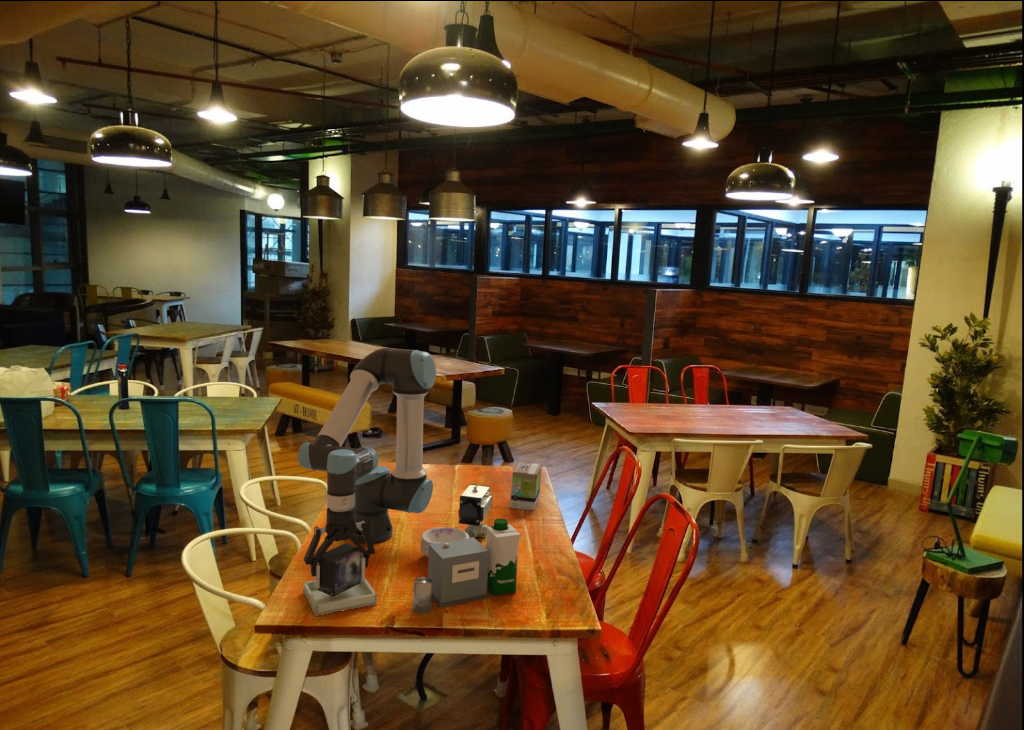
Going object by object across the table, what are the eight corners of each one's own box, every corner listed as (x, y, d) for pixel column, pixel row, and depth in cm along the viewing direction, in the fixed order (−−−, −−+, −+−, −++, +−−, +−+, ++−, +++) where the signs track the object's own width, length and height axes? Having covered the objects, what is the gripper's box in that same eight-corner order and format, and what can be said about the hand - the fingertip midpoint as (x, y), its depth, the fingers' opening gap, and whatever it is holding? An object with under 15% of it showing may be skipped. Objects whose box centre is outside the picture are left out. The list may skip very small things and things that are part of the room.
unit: (424, 590, 201) (426, 541, 198) (472, 581, 208) (474, 533, 205) (439, 607, 191) (441, 556, 189) (488, 597, 198) (491, 548, 196)
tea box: (535, 511, 268) (537, 474, 266) (509, 508, 270) (511, 471, 268) (539, 498, 283) (542, 463, 281) (515, 495, 285) (517, 460, 282)
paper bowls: (450, 545, 233) (451, 522, 232) (477, 561, 221) (479, 538, 220) (411, 555, 223) (412, 532, 222) (437, 573, 212) (438, 548, 210)
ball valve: (480, 547, 232) (483, 496, 229) (456, 544, 234) (458, 493, 231) (493, 528, 249) (495, 480, 247) (470, 524, 251) (472, 477, 248)
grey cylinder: (410, 606, 191) (411, 578, 190) (427, 602, 194) (428, 575, 192) (416, 614, 187) (417, 586, 186) (434, 611, 189) (435, 583, 188)
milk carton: (508, 580, 210) (511, 516, 207) (520, 593, 202) (524, 528, 199) (480, 584, 206) (483, 519, 203) (492, 598, 198) (495, 531, 195)
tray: (303, 592, 196) (303, 582, 195) (361, 582, 203) (361, 572, 203) (315, 616, 183) (315, 606, 183) (376, 604, 191) (376, 594, 190)
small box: (333, 598, 187) (334, 561, 185) (316, 591, 190) (317, 554, 188) (362, 583, 196) (362, 548, 194) (345, 576, 199) (345, 542, 197)
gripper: (298, 517, 180) (297, 596, 184) (388, 506, 192) (386, 580, 195) (292, 508, 187) (292, 584, 190) (379, 497, 198) (377, 569, 202)
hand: (339, 582), depth 193 cm, fingers open, 12 cm apart
